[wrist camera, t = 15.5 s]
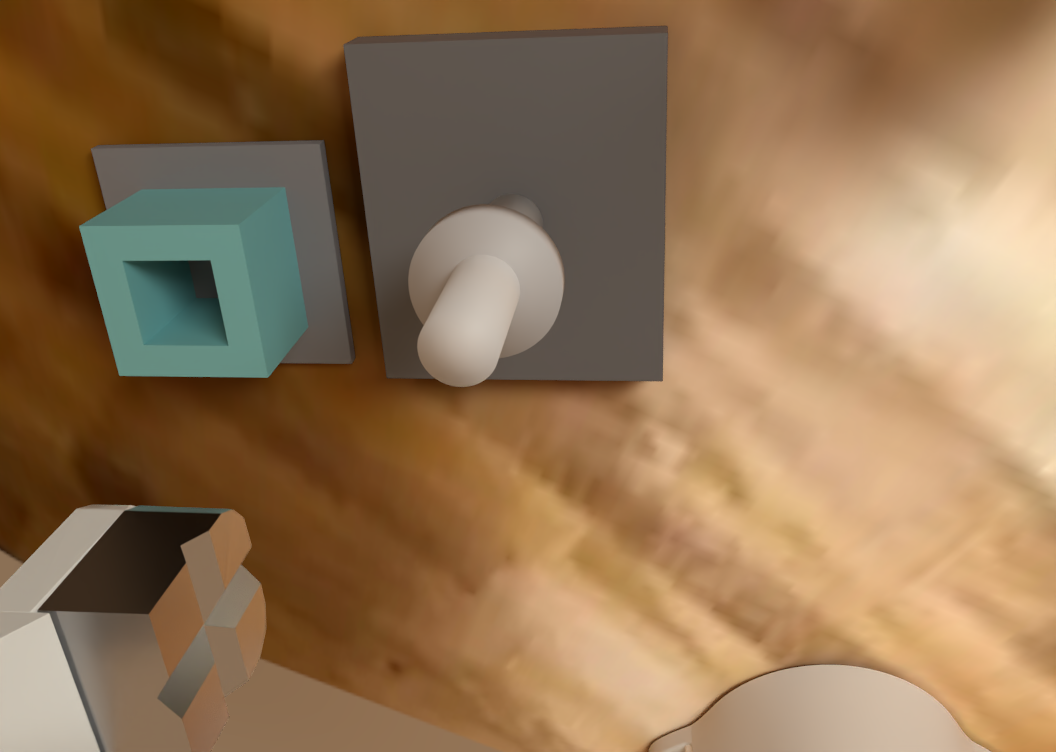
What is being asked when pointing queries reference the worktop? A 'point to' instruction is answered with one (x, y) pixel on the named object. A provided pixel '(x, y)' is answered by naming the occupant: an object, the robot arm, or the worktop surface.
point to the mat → (254, 168)
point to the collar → (167, 287)
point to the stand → (515, 201)
